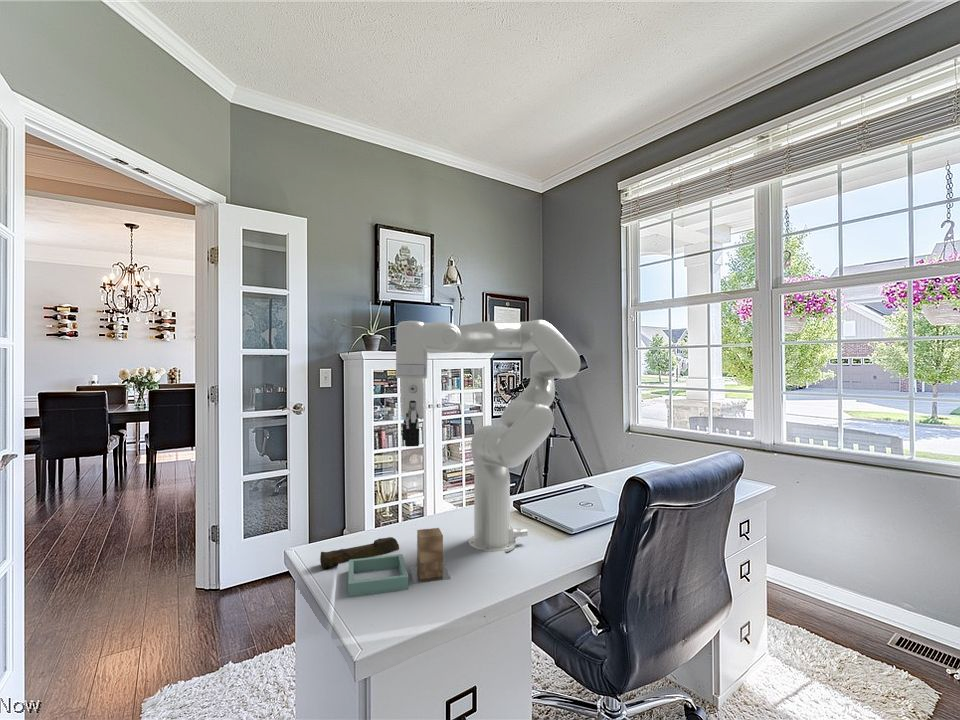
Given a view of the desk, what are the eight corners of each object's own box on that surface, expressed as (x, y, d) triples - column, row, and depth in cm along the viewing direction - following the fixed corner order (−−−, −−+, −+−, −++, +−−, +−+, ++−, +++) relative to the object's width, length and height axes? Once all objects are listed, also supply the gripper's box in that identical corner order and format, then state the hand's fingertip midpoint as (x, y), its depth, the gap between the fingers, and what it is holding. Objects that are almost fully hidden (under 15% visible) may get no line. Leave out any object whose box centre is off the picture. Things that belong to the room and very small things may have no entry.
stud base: (443, 567, 106) (443, 550, 106) (450, 583, 98) (450, 564, 98) (409, 571, 103) (409, 554, 104) (414, 588, 96) (414, 569, 96)
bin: (402, 569, 105) (402, 553, 105) (408, 593, 93) (408, 576, 94) (348, 575, 102) (349, 559, 102) (348, 601, 90) (348, 584, 90)
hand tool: (321, 573, 104) (321, 552, 104) (319, 566, 107) (319, 546, 107) (401, 558, 112) (401, 540, 112) (397, 552, 115) (397, 534, 115)
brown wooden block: (438, 566, 104) (438, 527, 104) (442, 576, 99) (442, 535, 99) (417, 569, 102) (417, 529, 103) (420, 579, 98) (420, 537, 98)
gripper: (431, 372, 101) (430, 448, 101) (423, 372, 118) (422, 437, 118) (397, 372, 100) (396, 449, 99) (394, 372, 116) (393, 438, 116)
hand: (410, 443), depth 108 cm, fingers open, 9 cm apart
